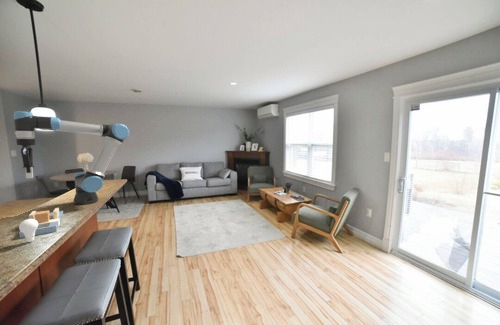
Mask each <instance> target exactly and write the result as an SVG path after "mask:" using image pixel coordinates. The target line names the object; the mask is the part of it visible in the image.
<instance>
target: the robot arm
mask: <svg viewBox="0 0 500 325" xmlns="http://www.w3.org/2000/svg"><path fill="white" fill-rule="evenodd" d="M13 123H14V129H15V130H14V133H13V134H15V138H16V140H15V142H16V145H17V146H22V148H20V153H21V157H22V158H21V159H22V164H23V166H22V167H23V168H24V170H25V179H33V178H34V171H33V170H34V169H33V167H35V165H34V163H33V162H34V159H33V158H34V157H33V153H34V152H33V148H32V146H35V145H36V139H35V138H36V136H35V129H39V130H44V131H55V132H57V131H58V132H65V133H66V132H67V133H74V134H75V133H76V134H77V133H78V134H86V135H96V136H99V137H103V138H106V139H105V142H103V143H104V144H103V145H102V147H101V149H100V151H99V153H98V154H97V157H95V160H94V162H93V164H91V167H90V169H87V170H86V171H83V172H76V173H74V188H75V195H74V198H73V200H72V201H73V202H72V203H73V205H75V204H76V206H78V205H79V206H82V204H84V205H89V204H90V203H91V204H94V202H95V203H97V202H99V195H98V194H97V192H98V191H100V190H101V189H102V188H103V187H104V179H105V177H106V175H105V173H106V170H107V168H108V167H109V164H110V162H111V160H112V158H113V157H114V155H115V153H116V151H117V149H118V147H119V145H122V144H123V143H124V141H125V139H127V138H128V137H129V136H130V129H129V128H128V127H127V125H125V124H123V123H114V124H113V123H111V124H103V123H102V124H101V123H100V124H92V123H86V122H77V121H69V120H61V119H60V118H59V117H55V116H54V117H53V116H40V115H39V116H37V115H34V114H33V112H31V111H22V110H21V111H20V110H16V111H14V112H13ZM91 204H90V205H91Z"/></svg>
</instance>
